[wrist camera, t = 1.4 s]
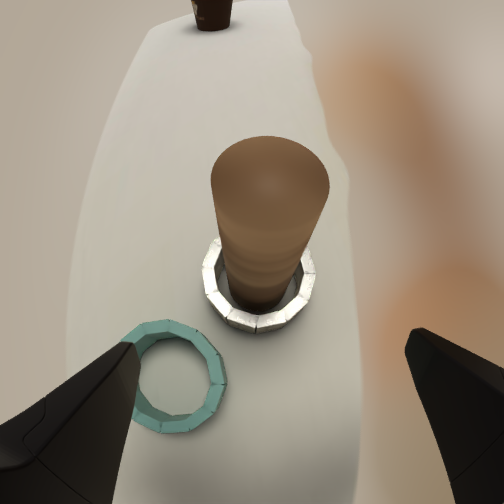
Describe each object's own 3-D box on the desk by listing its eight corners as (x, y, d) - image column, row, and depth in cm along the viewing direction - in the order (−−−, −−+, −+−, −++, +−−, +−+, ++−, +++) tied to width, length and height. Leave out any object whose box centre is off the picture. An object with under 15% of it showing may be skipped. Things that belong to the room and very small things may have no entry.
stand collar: (316, 319, 21) (327, 311, 18) (217, 340, 20) (213, 336, 17) (291, 232, 24) (297, 214, 21) (202, 248, 23) (196, 231, 20)
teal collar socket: (235, 417, 18) (233, 425, 15) (138, 427, 17) (122, 434, 14) (215, 320, 21) (210, 312, 18) (122, 334, 20) (105, 327, 17)
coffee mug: (233, 32, 41) (233, -12, 32) (188, 34, 41) (184, -8, 32) (236, 16, 46) (236, -21, 37) (198, 18, 46) (195, -19, 36)
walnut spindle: (291, 304, 21) (346, 218, 10) (234, 316, 21) (220, 239, 9) (278, 252, 23) (308, 132, 11) (224, 262, 23) (204, 144, 11)
